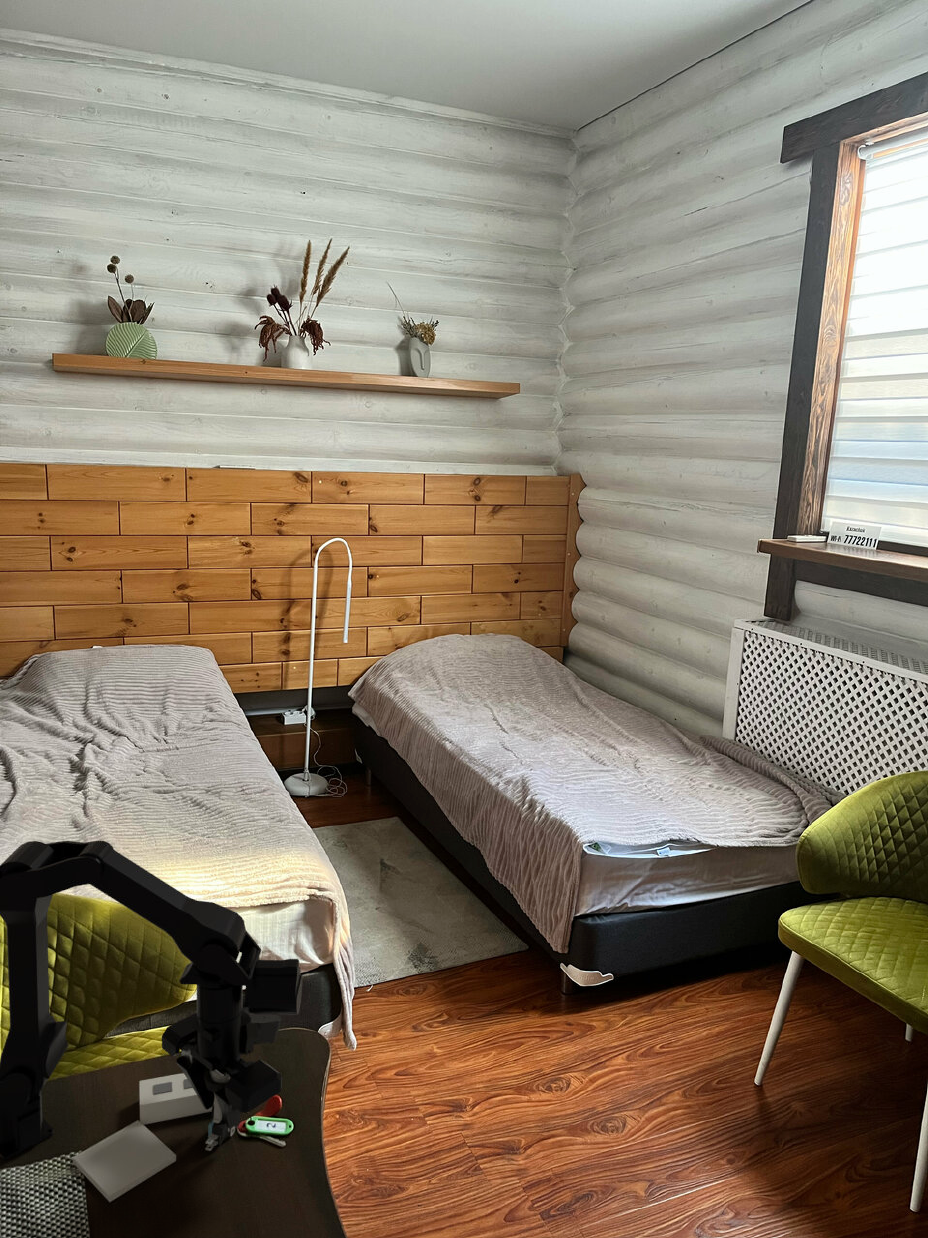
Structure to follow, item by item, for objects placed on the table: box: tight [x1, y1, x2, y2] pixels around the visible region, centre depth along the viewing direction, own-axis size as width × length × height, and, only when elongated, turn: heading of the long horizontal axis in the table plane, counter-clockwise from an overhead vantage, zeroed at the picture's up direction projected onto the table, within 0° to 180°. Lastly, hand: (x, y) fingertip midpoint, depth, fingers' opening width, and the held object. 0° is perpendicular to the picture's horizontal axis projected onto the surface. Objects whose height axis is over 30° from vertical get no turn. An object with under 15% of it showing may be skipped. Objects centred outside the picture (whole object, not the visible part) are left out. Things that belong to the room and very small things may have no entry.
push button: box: [204, 1068, 241, 1152], centre depth 120 cm, size 7×5×10 cm
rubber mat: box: [72, 1119, 177, 1203], centre depth 116 cm, size 9×9×1 cm
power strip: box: [139, 1072, 215, 1126], centre depth 127 cm, size 14×5×4 cm, turn 110°
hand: (220, 1117), depth 121 cm, fingers open, 5 cm apart
